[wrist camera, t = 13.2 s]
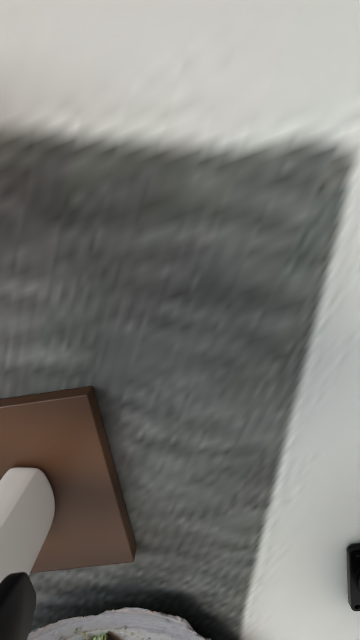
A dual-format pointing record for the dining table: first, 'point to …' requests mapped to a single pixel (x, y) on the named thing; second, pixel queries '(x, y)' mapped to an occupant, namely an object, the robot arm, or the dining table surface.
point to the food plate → (119, 627)
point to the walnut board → (69, 476)
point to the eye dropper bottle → (23, 518)
